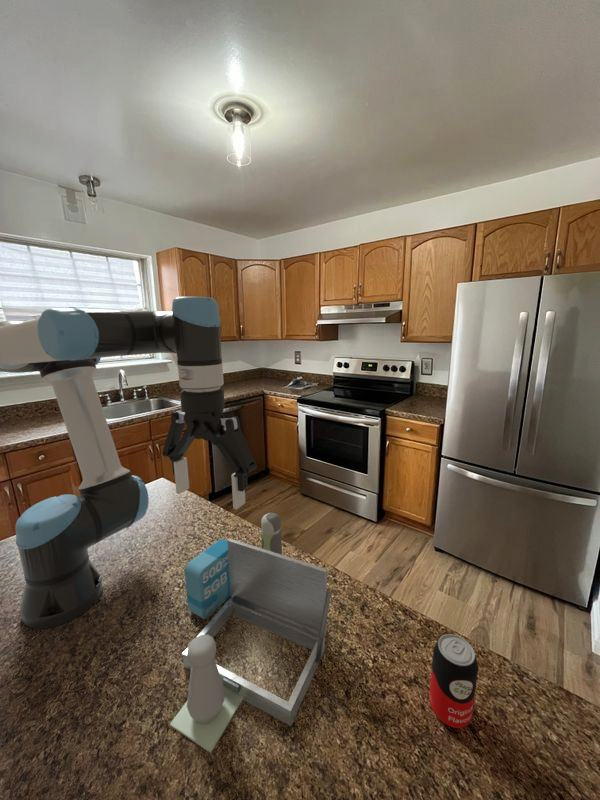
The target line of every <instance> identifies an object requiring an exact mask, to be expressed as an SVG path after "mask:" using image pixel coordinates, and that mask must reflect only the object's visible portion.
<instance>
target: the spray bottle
mask: <svg viewBox="0 0 600 800" xmlns="http://www.w3.org/2000/svg"><path fill="white" fill-rule="evenodd" d="M260 523H261V531H260V532H261V534H260V536H261V537H260V538H261V539H260V540H261V541H260V542H261V548H262V549H265V550H268V551H271V552H274V553H278V554H281V555H283V544H282V539H283V538H282V528H281V527H282V524H281V519H280V516H279V515H278V514H277V513H275V512H268V513H266V514H264V515H263V516H262V517H261V521H260Z"/></svg>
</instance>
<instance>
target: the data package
mask: <svg viewBox="0 0 600 800" xmlns="http://www.w3.org/2000/svg"><path fill="white" fill-rule="evenodd" d="M227 540H228V539H225V538H220V539H218V540H217V541H215V542H214V543H213V544H212V545H210V546H209V547H207V548H206V549H205V550H203V551H202V552H201V553H199V554H197V556H196V557H194V558H193V559H191V560H190V561H189V562H188V563H186V565H185V569H184V578H185V589H186V590H185V593H186V600H187V601H186V602H187V609H188V610H189V611H190V612H192V613H193V614H194V615H196V616H199V617H200V618H201V619H203V620H206V619H208V618H209V617H210V616H211V615H212V614H214V612H215V611H216V610H217V609H218V608H219V607H220V606H222V604H223V603H224V602H225V601H226V600H228V599H229V598H230V597H231V594H230V578H229V562H228V546H227Z"/></svg>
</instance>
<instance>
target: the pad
mask: <svg viewBox="0 0 600 800" xmlns="http://www.w3.org/2000/svg"><path fill="white" fill-rule="evenodd" d="M224 689H225V693H224V702H223V704H222V707H221V709H220V712H219V714H218V716H217V717H216V718H215V719H213V720H212V721H211V722H209V723H208V724H207V725H205V724H202V723H199V722H196V721H195V720H194V719H193V718H192V717H191V716H190V714H189V711H188V709H187V701H186V702H185V703H184V704H183V706H182V707H181V708H180V710H179V711H178V713H177V714H176V715H175V716H174V718H173V720H172V721H171V722H170V723H169V727H171V728H173V729H174V730H175V731H177V732H178V733H180V734H181V735H183V736H184V737H186V738H187V739H189V740H191V741H192V742H194V743H195V744H196V745H198V746H199V747H200V748H202V749H204V750H205V751H207V752H208V753H210V754H211V753H212V752H213V751H214V749H215V747H216V746H217V744H218V742H219V740H220V738H221V737H222V735H223V734H224V732H225V730H226V728H227V727H228V725H229V724H230V722H231V720H233V717H234V715H235V713H236V712H237V710H238V709H239V707H240V706H241V704H242V702H243V701H244V700H243V698H242V697H241V696H239V695H237V694H235V693H233V692H231V691H230V690H228V689H226V688H224Z"/></svg>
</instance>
